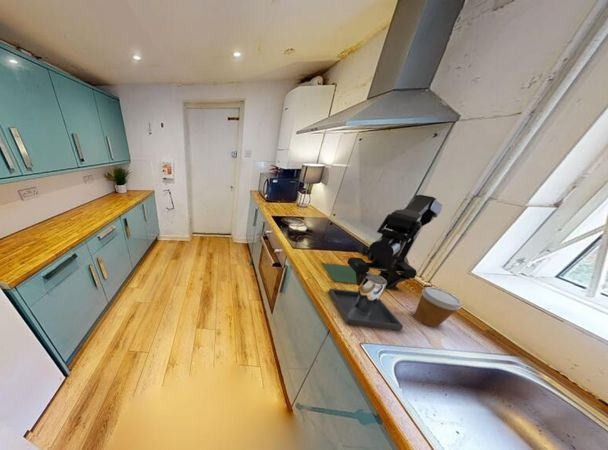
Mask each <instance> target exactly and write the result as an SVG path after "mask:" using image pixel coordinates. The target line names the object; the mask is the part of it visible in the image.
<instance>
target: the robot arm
mask: <svg viewBox="0 0 608 450" xmlns="http://www.w3.org/2000/svg"><path fill="white" fill-rule="evenodd" d="M442 210H443V204H442V203H440V202H439V201H438V200H437V198H436V197H434V196H432V195H431V196H430V195H425V194H416V195H415V196H414V197H413V198H411V199H410V200H409V202H408V203H407V205H406V206H405V207H404V208H403V209H395V210H393V211H392V212H391V213H388V214H387V215H386V217H385V219H384V220H383V221H382V223H381V224H380V226H379V228H378V230H377V231H376V233H378V234H381V236H380V237H379V238H378V239H376V240H375V241H373V242H372V243H371V244H369V247H368V245H363V244H362V245H361V244H360V245H359V246H358V249H357V253H358V254H359V255H361V256H362V257H367V258H366V259H367V260H368V262H367V261H365V259H364V258H362V257H354V256H350V257H349V258H348V260H347V262H346V264H348V266H350V267H351V268H352V269H353V270H354V271H355V272H356V282H357V284H356V285H357V286H359V285H360V284H361V283H362V282H363V280H364V279H365V278H366V276H367V275H368V274H367V273H369V272H370V270H377V271H378V272H380V273H378V275H379V276H381V277H383V278H384V279H386V281H387V285H386V288H385V290H392V291H393V290H395V291H399V288H398V287H397V286H398V284H399V283H402V282H404V281H406V280H410V279H415V278H416V276H417V275H418V272H417V270H416V269H415V268H414V267H413V266H411V265H410V262H409V259H408V255H409V253H410V251H411V250H412V248H413V246H414V244H415V242H416V241H417V238H418V237H419V235H420V233H421V231H422V229H423V227H424V226H426V225H428V224H429V223H431V222H432V221H434V219H435V218H436V219H437V218H438V217H439V215H440V213H441V211H442ZM369 261H370V262H369Z"/></svg>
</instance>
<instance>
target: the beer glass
mask: <svg viewBox="0 0 608 450" xmlns="http://www.w3.org/2000/svg"><path fill="white" fill-rule="evenodd" d="M367 274H368V275H367V276H366V278H365V279H364V280H363V282H362V283H361V284H360V285H358V287H357V297H356V299H355V301H354V302H353V303H352V308H353V309H354V310H355V311H356V312H358V313H360V314H362V315H370V314H371V310H372V307H373V305H374V304H375V303H376V302H377V301H378V300H379V299H381V297H382V296H383V294H384V292H385V290H386V289H385V288H386V285H387V281H386V279H384V278H383V277H381V276H379V274H377V273H373V272H367Z"/></svg>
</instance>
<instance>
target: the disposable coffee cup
mask: <svg viewBox="0 0 608 450" xmlns="http://www.w3.org/2000/svg"><path fill="white" fill-rule="evenodd" d="M462 308H463V307H462V301H461V300H460V299H459V298H458V297H457V296H456V295H455V294H453V293H451V292H449V291H447V290H444V289H442V288H438V287H434V286H427V287H425V288H423V289H422V290H421V295H420V299H419V302H418V304H417V306H416V308H415V311H414V315H413V316H414V317H415V319H416V320H417V321H418V322H420V323H421V324H423V325H425V326H427V327H430V328H438V327H439V326H440V325H441V324H443V323H444V322H445V321H446V320H447V319H448V318H450V316H452V315H453V314H454V313H455V312H456V311H458V310H461V309H462Z"/></svg>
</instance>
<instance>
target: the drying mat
mask: <svg viewBox="0 0 608 450" xmlns="http://www.w3.org/2000/svg"><path fill="white" fill-rule="evenodd" d="M322 265H323V267H324V268H325V270H326V271H327V273H328V274H329V276H330V278H331V279H332V281H333V282H334V283H344V284H353V285H357V282H356V272H355V271H354V270H353V269H352V268H351V267H350V266H349V265H342V264H332V263H322Z"/></svg>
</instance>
